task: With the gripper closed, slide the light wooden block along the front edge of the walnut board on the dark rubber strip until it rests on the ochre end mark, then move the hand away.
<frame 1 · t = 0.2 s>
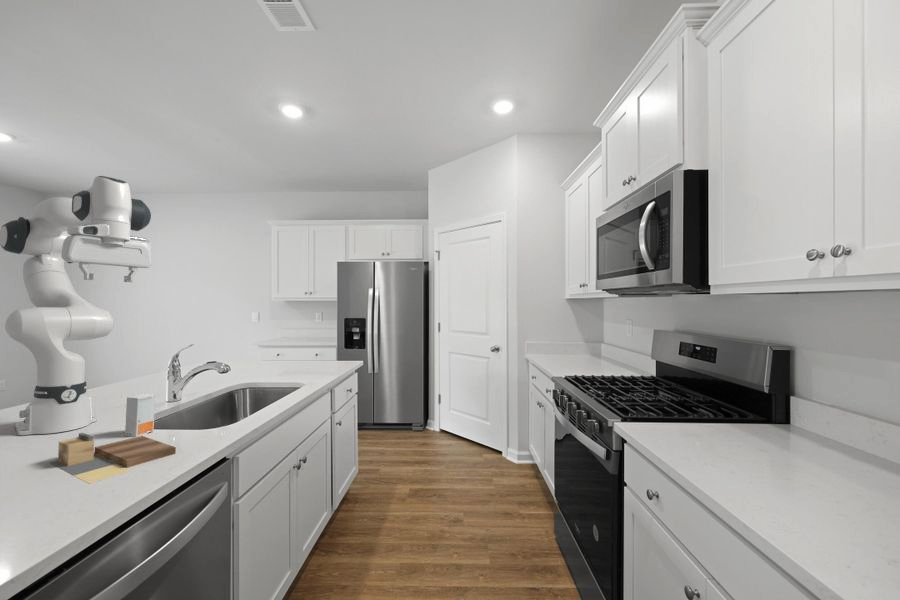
hand: (109, 281, 115), 47 cm above the worktop, tool pointing down, fingers open, 8 cm apart
skincare box: (139, 434, 124), on the worktop
walnut board: (135, 454, 108), on the worktop
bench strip: (88, 467, 99), on the worktop
light wooden block: (75, 460, 102), resting on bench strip
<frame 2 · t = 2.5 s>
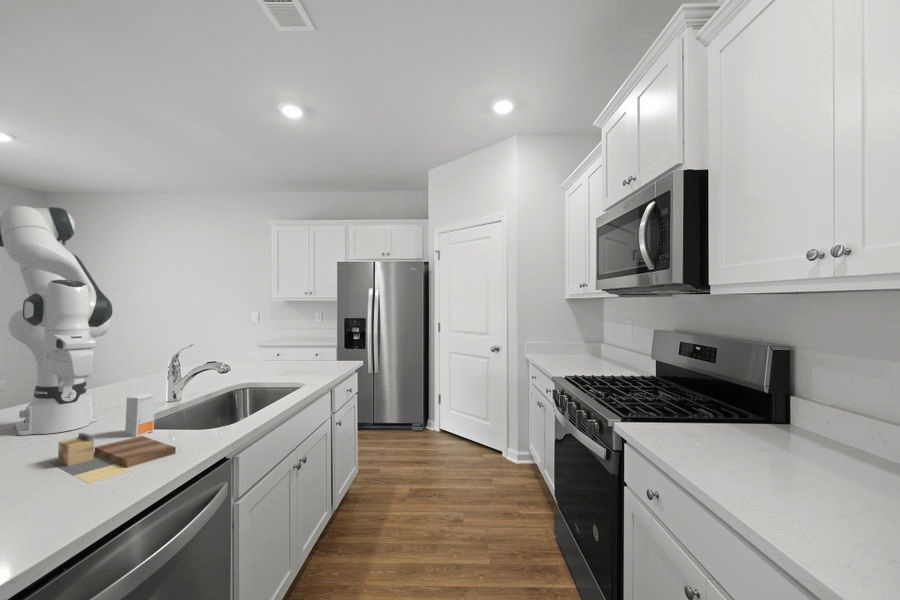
hand: (65, 392, 106), 17 cm above the worktop, tool pointing down, fingers closed
nothing on the worktop moved.
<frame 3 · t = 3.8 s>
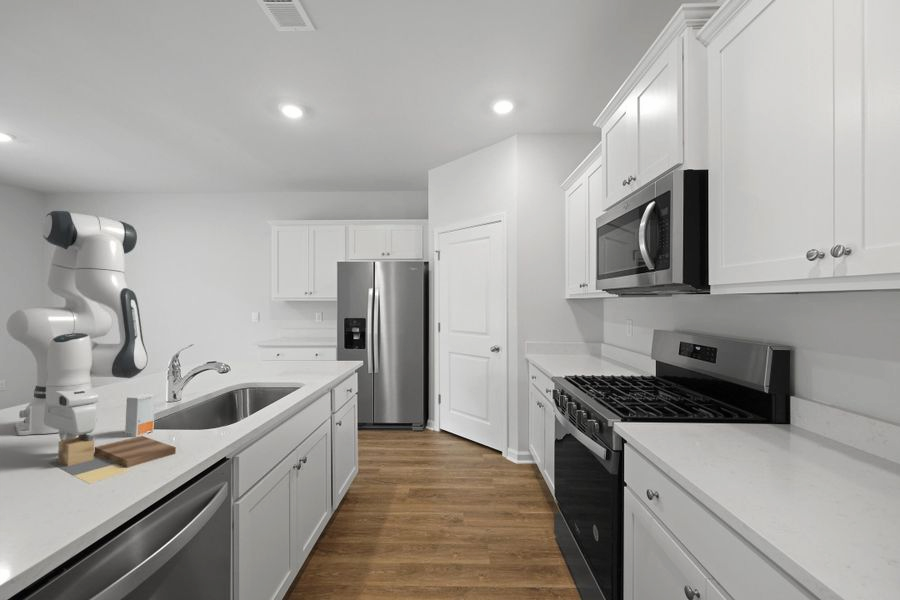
hand: (67, 446, 106), 2 cm above the worktop, tool pointing down, fingers closed
nothing on the worktop moved.
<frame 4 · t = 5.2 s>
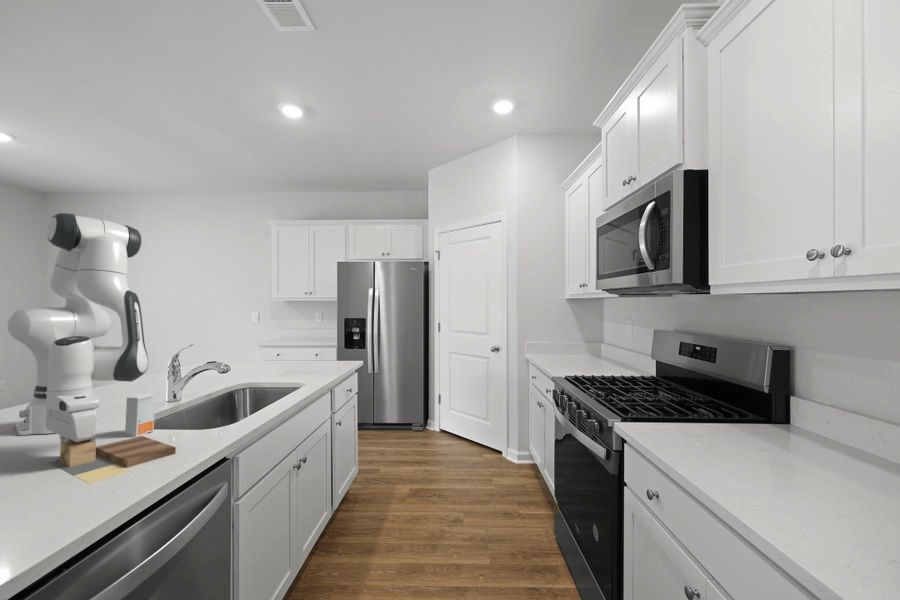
hand: (68, 452, 104), 2 cm above the worktop, tool pointing down, fingers closed
light wooden block: (77, 461, 102), resting on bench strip, touching gripper
everything else where it was.
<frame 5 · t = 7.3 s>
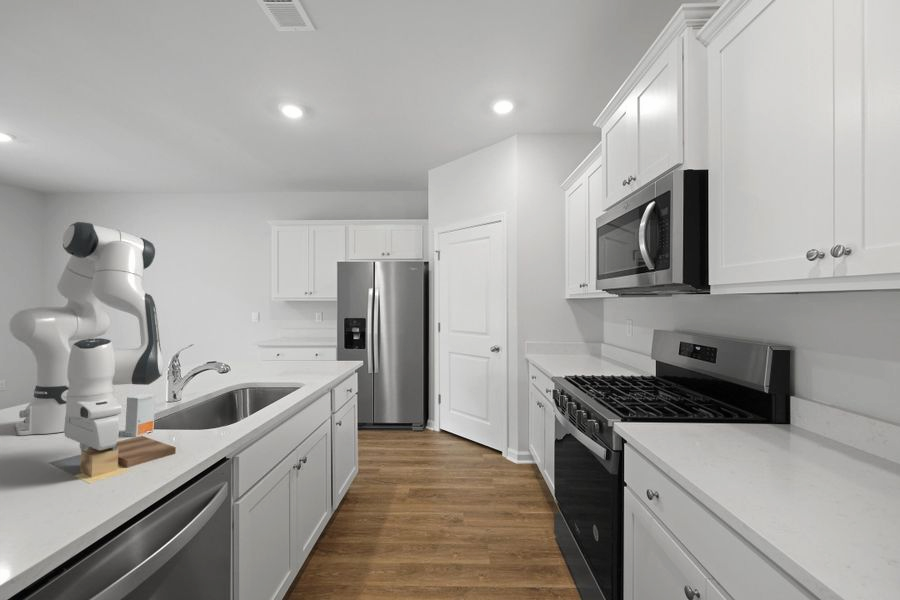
hand: (88, 460, 99), 2 cm above the worktop, tool pointing down, fingers closed
light wooden block: (99, 471, 96), resting on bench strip, touching gripper
everything else where it was.
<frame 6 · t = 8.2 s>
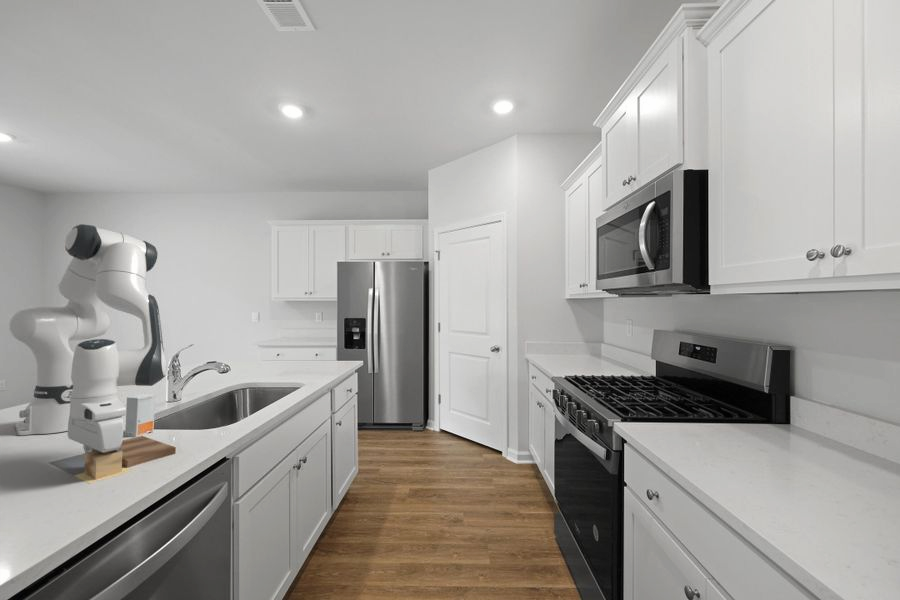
hand: (92, 462, 98), 2 cm above the worktop, tool pointing down, fingers closed
light wooden block: (103, 472, 95), resting on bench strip, touching gripper
everything else where it was.
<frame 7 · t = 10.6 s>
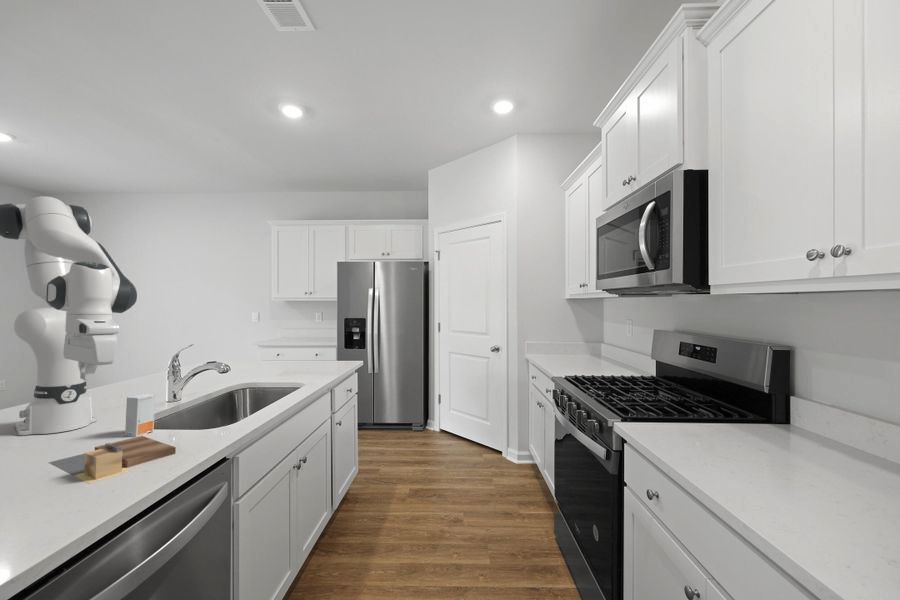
hand: (87, 379, 102), 21 cm above the worktop, tool pointing down, fingers closed
light wooden block: (103, 472, 95), resting on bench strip
everything else where it was.
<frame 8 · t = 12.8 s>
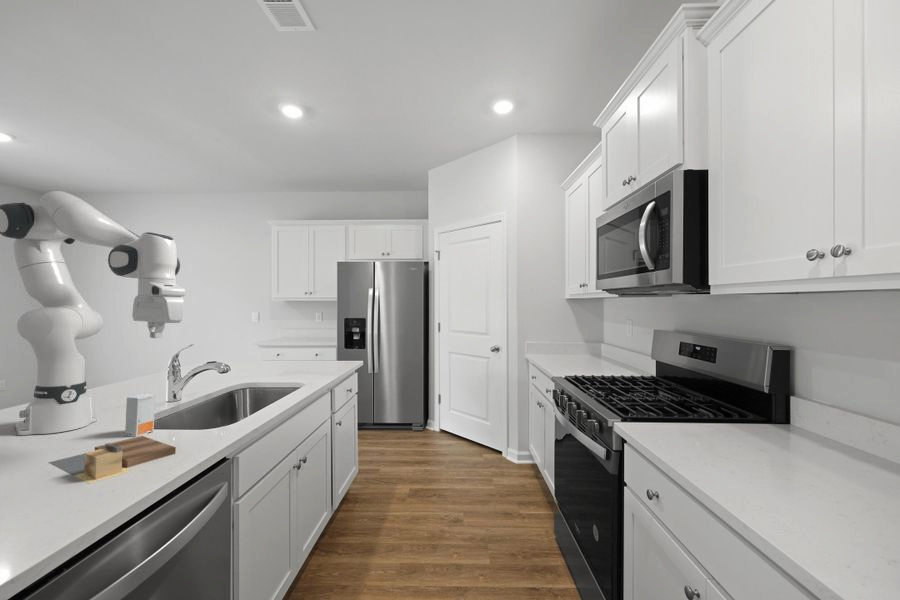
hand: (155, 338, 114), 31 cm above the worktop, tool pointing down, fingers closed
nothing on the worktop moved.
at the end: light wooden block inside the target area (0.6 cm from its centre), resting on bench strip; light wooden block tilted 0° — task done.
